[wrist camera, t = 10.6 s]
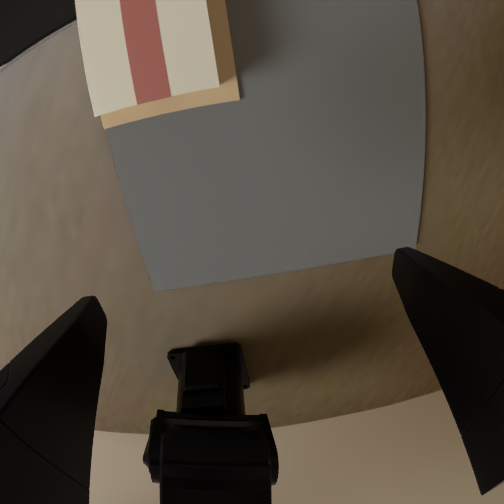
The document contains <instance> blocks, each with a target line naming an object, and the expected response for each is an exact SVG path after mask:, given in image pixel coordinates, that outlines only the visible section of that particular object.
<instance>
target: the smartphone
mask: <svg viewBox="0 0 504 504" xmlns="http://www.w3.org/2000/svg"><path fill="white" fill-rule="evenodd" d="M75 23H77V15H76V7H75V0H0V72H1V71H3V70H4V69H5V68H7V67H8V66H9V65H11V64H12V63H13V62H15V61H16V60H18V59H19V58H20V57H22V56H23V55H25V54H26V53H28V52H29V51H31V50H32V49H34V48H35V47H37V46H38V45H40V44H41V43H43V42H44V41H46V40H48V39H49V38H51V37H53V36H54V35H56V34H58V33H59V32H61V31H63V30H64V29H66V28H68V27H70V26H71V25H73V24H75Z"/></svg>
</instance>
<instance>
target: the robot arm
mask: <svg viewBox="0 0 504 504" xmlns="http://www.w3.org/2000/svg"><path fill="white" fill-rule="evenodd" d="M392 277H393V280H394V283H395V285H396V288H397V290H398V293H399V295H400V298H401V300H402V303H403V305H404V308H405V311H406V313H407V316H408V318H409V320H410V322H411V324H412V326H413V328H414V330H415V332H416V334H417V336H418V338H419V340H420V342H421V345H422V347H423V349H424V351H425V353H426V355H427V357H428V359H429V361H430V363H431V366H432V368H433V370H434V372H435V374H436V377H437V379H438V381H439V383H440V386H441V388H442V390H443V392H444V394H445V397H446V399H447V402H448V404H449V406H450V409H451V411H452V414H453V416H454V419H455V421H456V424H457V426H458V429H459V431H460V434H461V435H462V436H461V437H462V440H463V443H464V446H465V448H466V451H467V454H468V456H469V459H470V462H471V465H472V468H473V471H474V474H475V477H476V480H477V483H478V486H479V490H480V493H481V495H484V494H486V493H487V492H489V491H491V490H492V489H494V488H496V487H497V486H499V485H500V484H502V483H503V482H504V290H503V289H499V288H498V287H496V286H494V285H492V284H490V283H488V282H486V281H484V280H482V279H480V278H477V277H475V276H473V275H471V274H469V273H467V272H465V271H462V270H460V269H458V268H456V267H454V266H451V265H449V264H447V263H445V262H443V261H440V260H438V259H436V258H434V257H431V256H429V255H427V254H424V253H422V252H420V251H417V250H415V249H413V248H410V247H402V248H397V249H396V250H395V253H394V260H393V268H392ZM106 330H107V318H106V315H105V313H104V311H103V309H102V307H101V305H100V303H99V301H98V299H97V298H96V297H95V296H86V297H82V298H81V299H80V300H79V301H77V302H76V303H75V304H74V305H73V306H72V307H70V308H69V309H68V310H67V311H66V312H65V313H63V314H62V315H61V316H60V317H59V318H58V319H56V320H55V321H54V322H53V323H52V324H51V325H50V326H48V327H47V328H46V329H45V330H44V331H43V332H42V333H41V334H39V335H38V336H37V337H36V338H35V339H34V340H33V341H32V342H31V343H29V344H28V345H27V346H26V347H25V348H24V349H23V350H22V351H21V352H20V353H19V354H18V355H16V356H15V357H14V358H13V359H12V360H11V361H10V363H8V364H7V365H6V366H5V367H4V368H3V369H2V370H0V504H89V486H90V470H91V457H92V445H93V436H94V428H95V419H96V411H97V404H98V397H99V390H100V384H101V378H102V372H103V365H104V354H105V341H106ZM167 358H168V360H169V362H170V364H171V367H172V369H173V371H174V373H175V375H176V377H177V379H178V395H177V410H176V412H169V411H164V410H159V409H158V410H157V415H156V417H154V419H152V420H151V425H150V434H149V439H148V442H147V445H146V448H145V452H144V455H143V463H144V464H145V465H146V466H147V467H148V468H149V472H150V474H151V479H152V482H153V483H160V504H271V485H275V484H276V482H277V479H278V469H279V464H278V453H277V448H276V445H275V441H274V438H273V434H272V431H271V427H270V424H269V420H268V417H267V414H260V415H245V404H244V393H243V389H248V388H249V387H250V382H249V378H248V374H247V370H246V366H245V362H244V358H243V353H242V349H241V346H240V344H237V343H232V344H225V345H217V346H209V347H201V348H192V349H183V350H174V351H169V352H168V355H167Z"/></svg>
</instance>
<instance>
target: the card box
mask: <svg viewBox="0 0 504 504" xmlns="http://www.w3.org/2000/svg"><path fill="white" fill-rule="evenodd" d="M75 7H76V15H77V23H78V30H79V37H80V44H81V50H82V56H83V62H84V68H85V73H86V78H87V84H88V89H89V93H90V98H91V103H92V107H93V112H94V116H95V117H96V116H99V115H103V114H106V113H109V112H113V111H116V110H119V109H123V108H126V107H130V106H134V105H139V104H143V103H147V102H151V101H155V100H159V99H164V98H168V97H172V96H175V95H180V94H184V93H189V92H195V91H200V90H205V89H211V88H217V87H220V80H219V73H218V67H217V61H216V55H215V48H214V42H213V36H212V29H211V23H210V17H209V10H208V4H207V0H75Z"/></svg>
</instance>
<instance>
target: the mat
mask: <svg viewBox="0 0 504 504" xmlns="http://www.w3.org/2000/svg"><path fill="white" fill-rule="evenodd" d="M207 4H208V10H209V17H210V23H211V29H212V36H213V42H214V48H215V55H216V61H217V67H218V73H219V80H220V87H217V88H211V89H205V90H200V91H195V92H189V93H184V94H180V95H175V96H172V97H168V98H164V99H159V100H155V101H151V102H147V103H143V104H139V105H134V106H130V107H126V108H123V109H119V110H116V111H113V112H109V113H106V114H103V115H101V119H102V124H103V128H104V129H106V133H107V137H108V141H109V145H110V149H111V153H112V157H113V161H114V165H115V168H116V172H117V176H118V179H119V183H120V186H121V190H122V193H123V197H124V200H125V203H126V207H127V210H128V213H129V217H130V220H131V223H132V226H133V229H134V232H135V235H136V238H137V241H138V244H139V247H140V250H141V253H142V256H143V259H144V262H145V265H146V268H147V271H148V273H149V276H150V279H151V282H152V284H153V287H154V290H155V291H162V290H170V289H177V288H184V287H190V286H197V285H204V284H211V283H217V282H224V281H231V280H237V279H244V278H250V277H256V276H263V275H269V274H275V273H282V272H288V271H294V270H300V269H306V268H312V267H318V266H324V265H330V264H335V263H341V262H347V261H353V260H358V259H364V258H370V257H375V256H381V255H386V254H392V253H395V250H396V249H397V248H402V247H410V248H413V249H416V243H417V236H418V228H419V220H420V211H421V201H422V191H423V178H424V162H425V135H426V98H425V72H424V57H423V45H422V35H421V26H420V18H419V11H418V4H417V0H207Z"/></svg>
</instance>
